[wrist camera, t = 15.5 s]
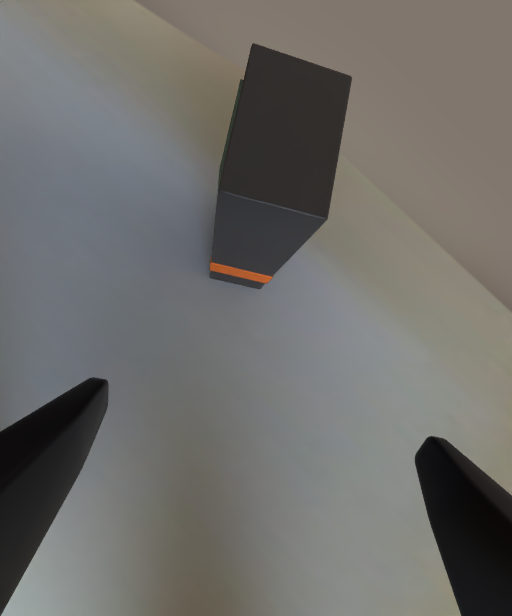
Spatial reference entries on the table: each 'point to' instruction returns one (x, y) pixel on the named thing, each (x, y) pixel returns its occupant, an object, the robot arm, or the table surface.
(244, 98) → the laser measure
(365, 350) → the table surface
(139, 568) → the table surface
